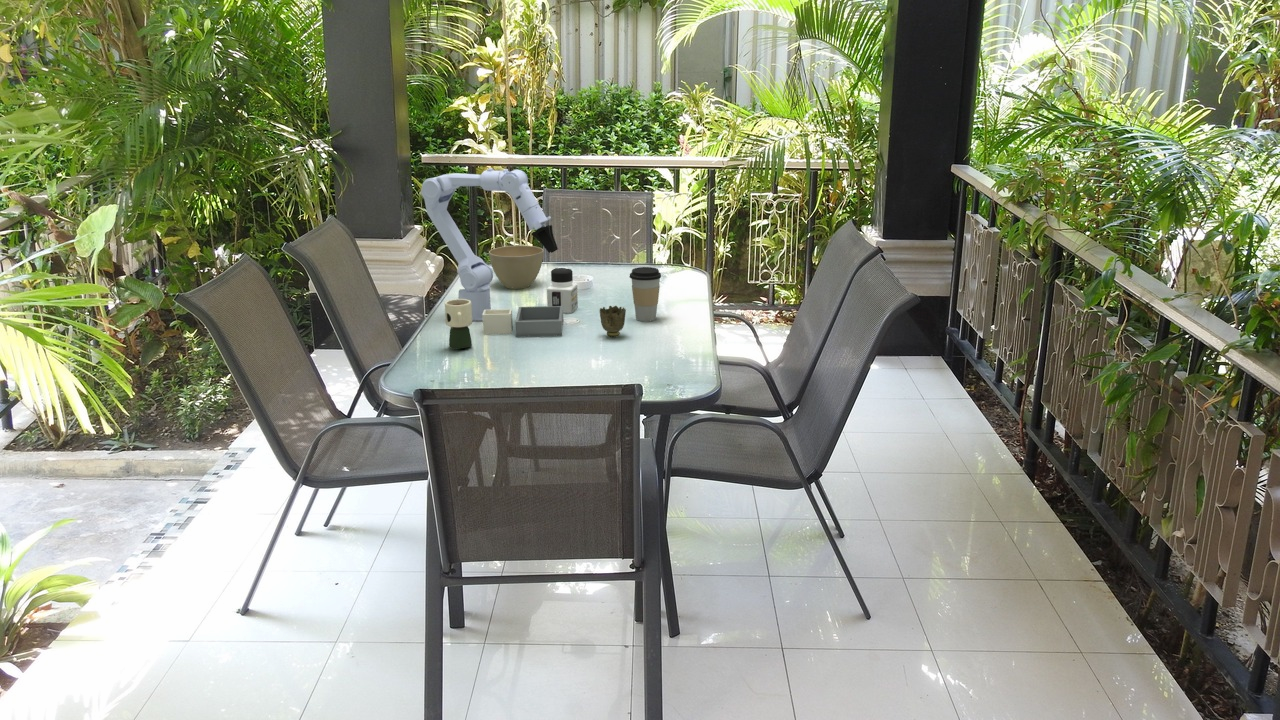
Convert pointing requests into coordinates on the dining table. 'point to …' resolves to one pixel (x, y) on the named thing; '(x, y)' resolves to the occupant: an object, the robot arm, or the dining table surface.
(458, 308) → the character mug
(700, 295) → the dining table surface
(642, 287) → the coffee cup
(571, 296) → the container
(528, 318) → the grey crate
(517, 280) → the flower pot
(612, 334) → the cup
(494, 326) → the cream crate
